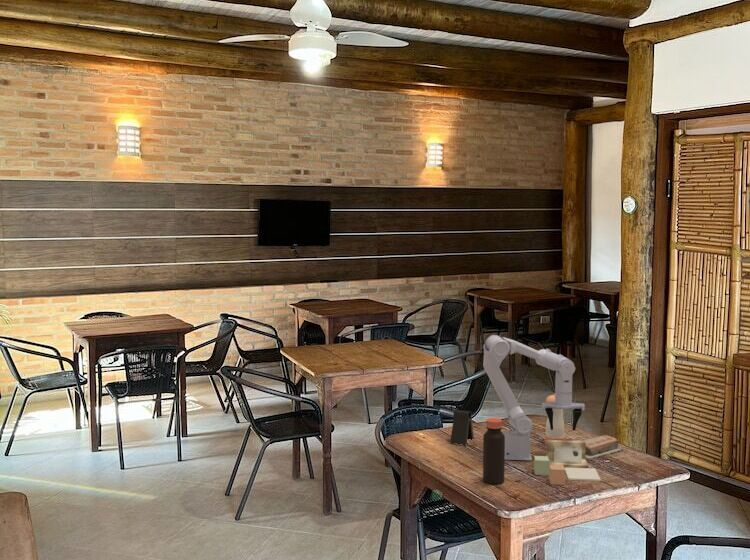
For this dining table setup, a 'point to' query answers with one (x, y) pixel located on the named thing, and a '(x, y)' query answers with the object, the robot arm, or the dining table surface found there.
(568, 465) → the beige box
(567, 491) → the dining table surface
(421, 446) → the dining table surface
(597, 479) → the mat
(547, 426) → the pepper shaker
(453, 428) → the phone stand
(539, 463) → the sage block
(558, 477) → the terracotta block
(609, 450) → the packaged product
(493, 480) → the bottle
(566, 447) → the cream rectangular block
